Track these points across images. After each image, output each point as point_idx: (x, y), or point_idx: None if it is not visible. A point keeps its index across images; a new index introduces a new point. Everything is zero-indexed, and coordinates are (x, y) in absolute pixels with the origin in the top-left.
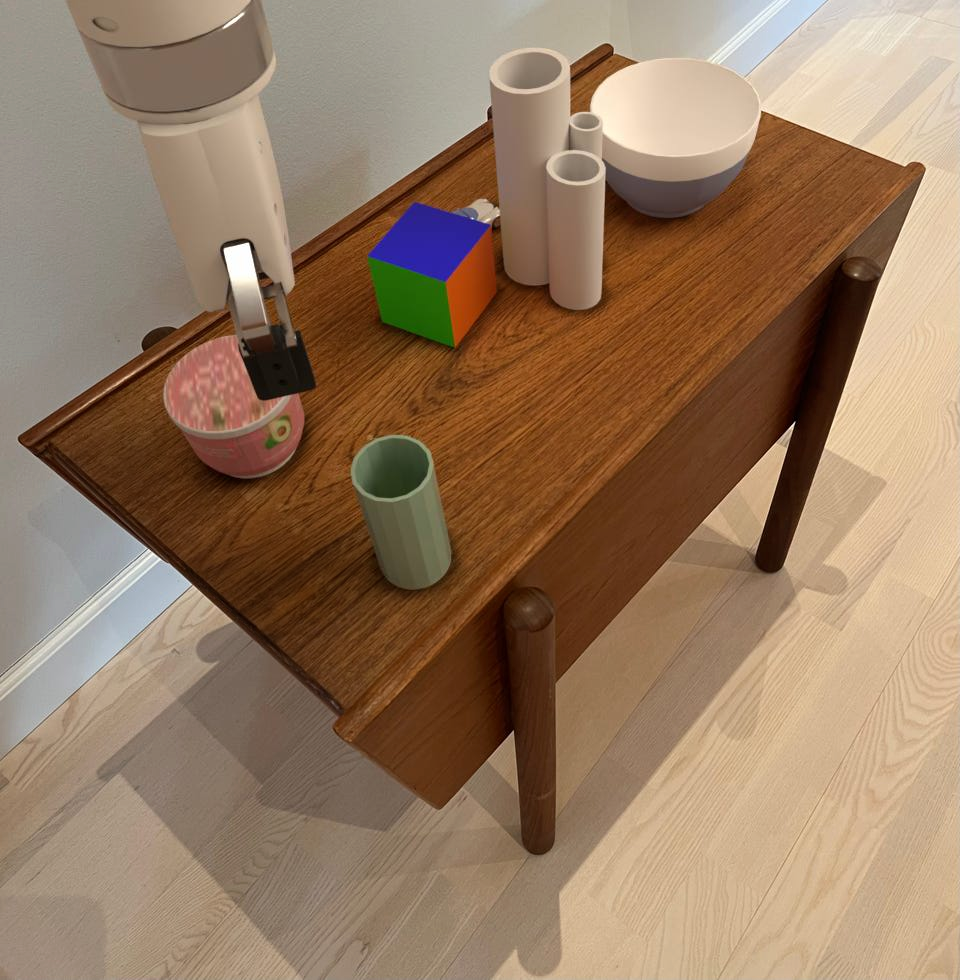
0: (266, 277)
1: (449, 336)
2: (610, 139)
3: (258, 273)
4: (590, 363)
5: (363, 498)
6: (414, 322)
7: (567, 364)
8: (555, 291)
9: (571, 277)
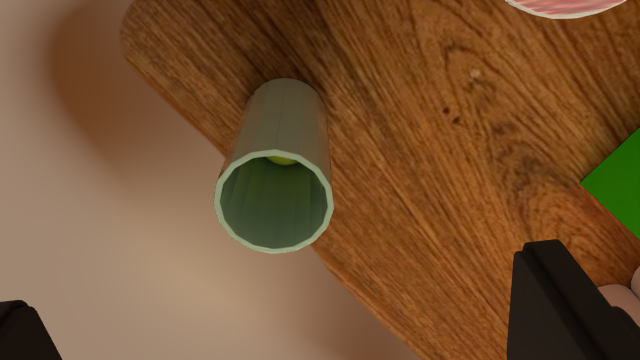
0: (511, 305)
1: (593, 186)
2: None
3: (520, 307)
4: (498, 304)
5: (231, 160)
6: (637, 149)
7: (505, 285)
8: (607, 298)
9: None
